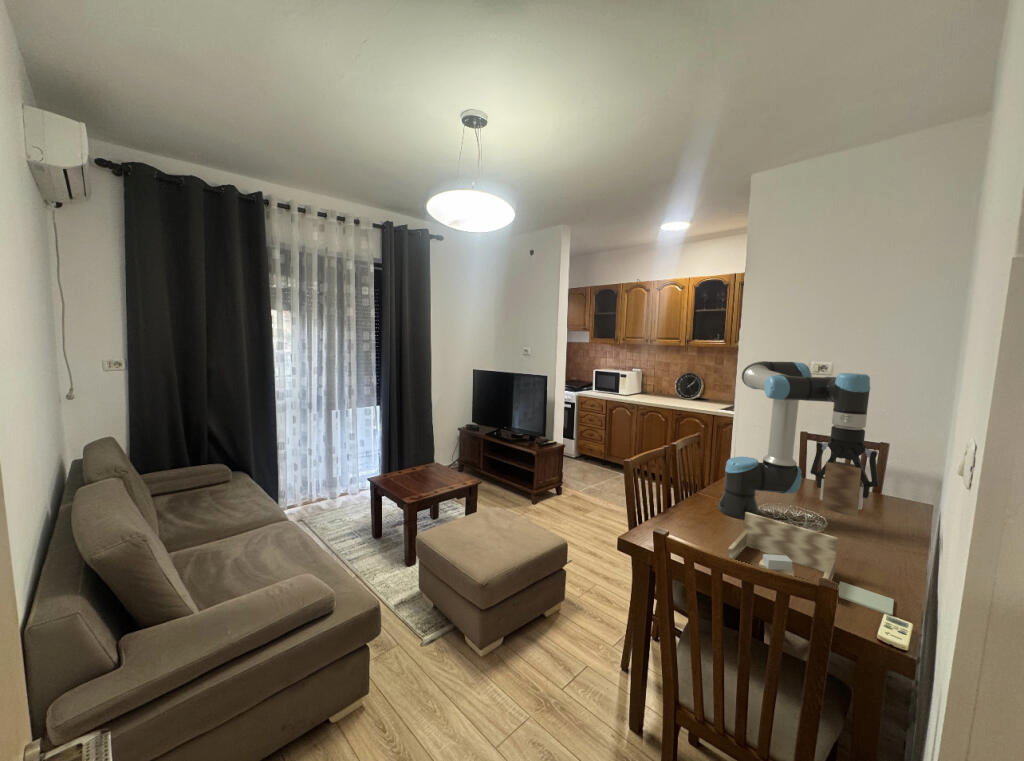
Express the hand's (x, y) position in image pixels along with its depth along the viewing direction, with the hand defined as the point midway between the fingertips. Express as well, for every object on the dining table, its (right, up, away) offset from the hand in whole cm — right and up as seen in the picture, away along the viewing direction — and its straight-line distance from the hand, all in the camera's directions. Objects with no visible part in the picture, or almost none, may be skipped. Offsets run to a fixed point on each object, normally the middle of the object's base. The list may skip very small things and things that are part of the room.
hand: (840, 503), depth 120 cm
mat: (+5, -27, -3) cm, 27 cm away
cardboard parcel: (0, -2, 0) cm, 2 cm away
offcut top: (-13, -22, +8) cm, 27 cm away
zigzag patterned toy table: (-10, -25, +12) cm, 29 cm away
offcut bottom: (-13, -25, +9) cm, 30 cm away
